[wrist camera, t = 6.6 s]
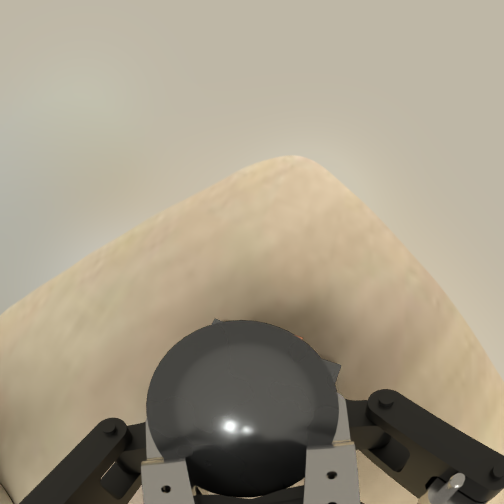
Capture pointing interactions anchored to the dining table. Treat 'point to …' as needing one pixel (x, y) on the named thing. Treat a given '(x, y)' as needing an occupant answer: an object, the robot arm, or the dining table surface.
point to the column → (242, 407)
